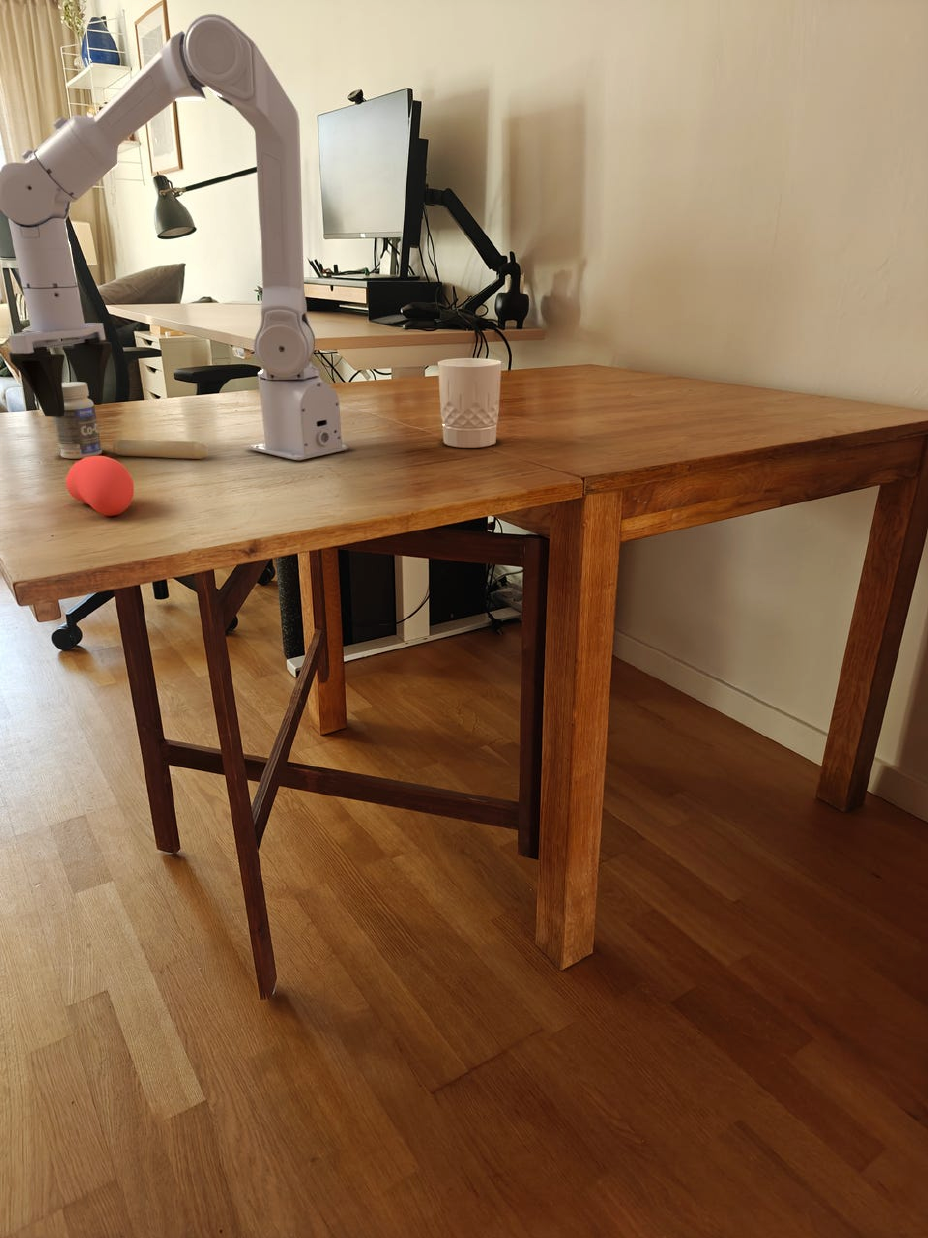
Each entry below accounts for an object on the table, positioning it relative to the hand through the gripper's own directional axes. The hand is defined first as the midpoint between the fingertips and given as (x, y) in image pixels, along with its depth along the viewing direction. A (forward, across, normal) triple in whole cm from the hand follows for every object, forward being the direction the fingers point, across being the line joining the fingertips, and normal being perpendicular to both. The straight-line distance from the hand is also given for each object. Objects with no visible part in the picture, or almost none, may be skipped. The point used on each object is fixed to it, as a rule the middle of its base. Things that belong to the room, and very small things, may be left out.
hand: (74, 409), depth 99 cm
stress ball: (+6, +20, +16) cm, 26 cm away
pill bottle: (+6, 0, 0) cm, 6 cm away
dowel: (+5, 0, +10) cm, 11 cm away
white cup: (+6, -15, +45) cm, 48 cm away
